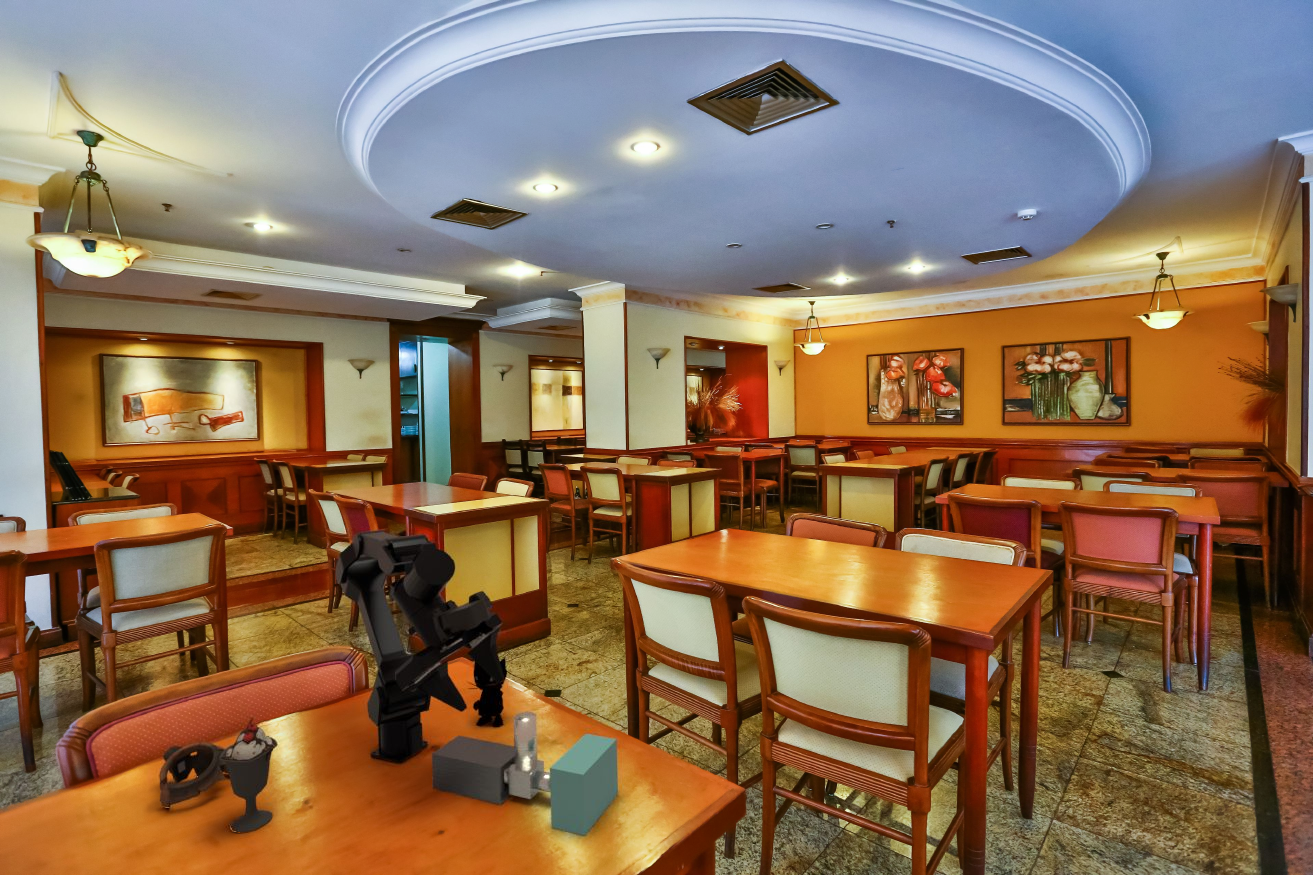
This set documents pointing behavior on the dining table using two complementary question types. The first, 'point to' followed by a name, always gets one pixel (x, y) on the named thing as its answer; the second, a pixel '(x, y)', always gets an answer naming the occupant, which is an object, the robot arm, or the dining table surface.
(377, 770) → the dining table surface
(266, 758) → the sundae
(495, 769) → the grey rectangular box
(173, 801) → the strapped goggles
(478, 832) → the dining table surface
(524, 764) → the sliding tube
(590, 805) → the teal block
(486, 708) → the cat figurine
